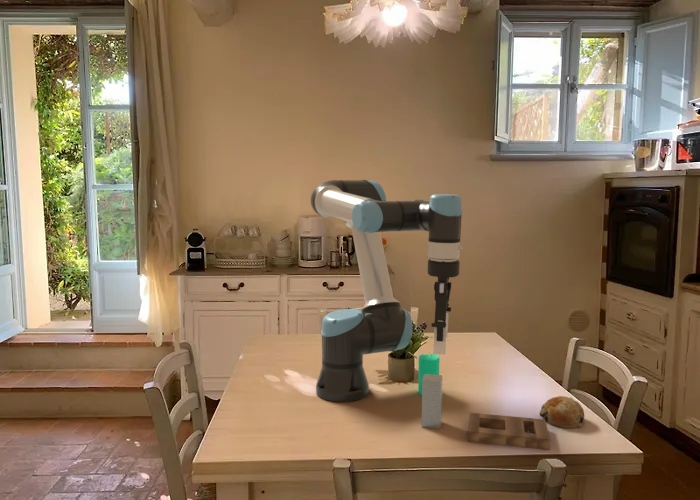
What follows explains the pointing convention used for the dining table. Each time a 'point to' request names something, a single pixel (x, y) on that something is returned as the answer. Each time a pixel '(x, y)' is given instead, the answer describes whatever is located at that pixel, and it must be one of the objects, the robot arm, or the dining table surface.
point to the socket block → (508, 431)
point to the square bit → (431, 401)
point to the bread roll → (563, 412)
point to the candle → (427, 367)
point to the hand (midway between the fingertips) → (440, 345)
